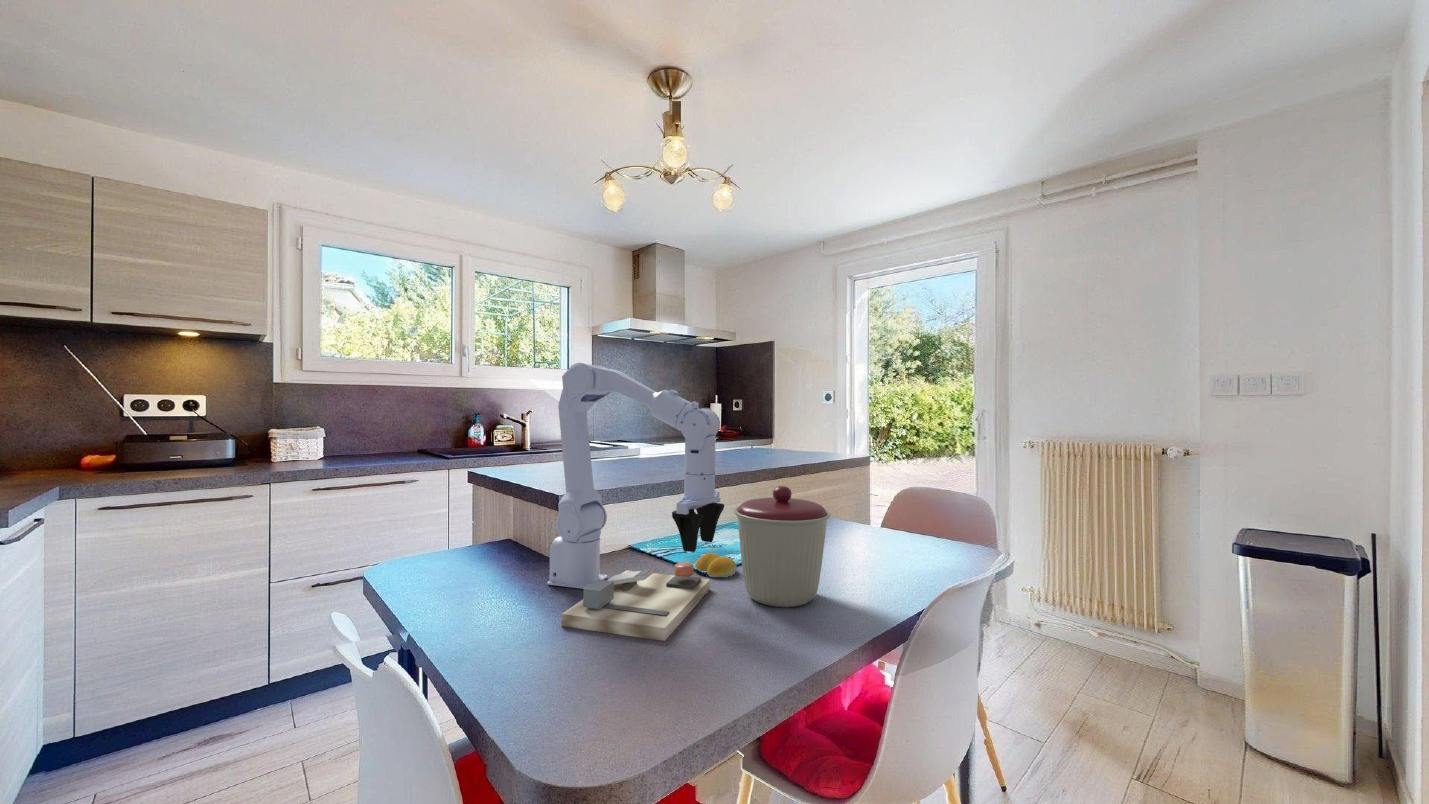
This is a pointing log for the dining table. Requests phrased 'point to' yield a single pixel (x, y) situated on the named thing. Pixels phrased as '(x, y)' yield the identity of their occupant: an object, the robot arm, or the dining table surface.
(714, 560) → the double yolk fried egg
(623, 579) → the grey rocker
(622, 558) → the dining table surface
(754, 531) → the canister
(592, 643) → the dining table surface
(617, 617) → the switch panel
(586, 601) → the grey rectangular block
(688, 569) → the red push button
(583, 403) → the robot arm
